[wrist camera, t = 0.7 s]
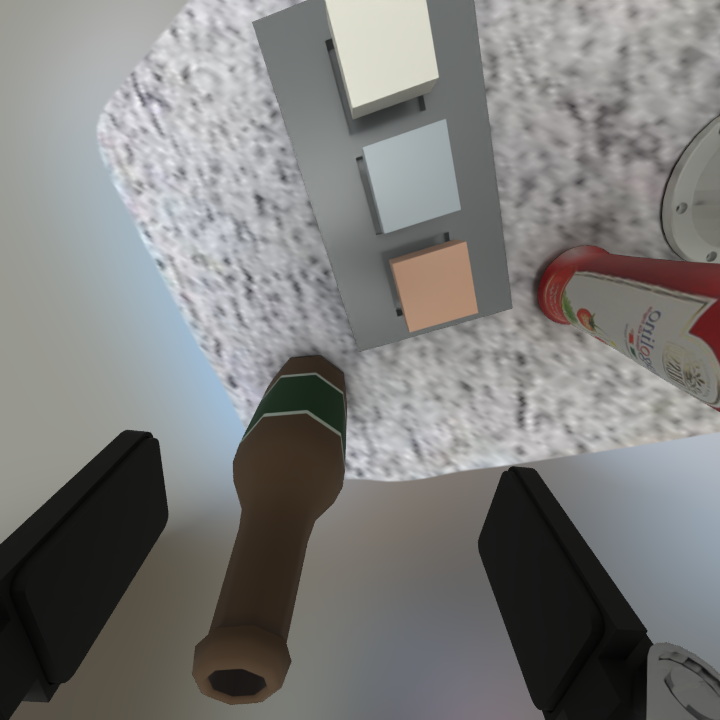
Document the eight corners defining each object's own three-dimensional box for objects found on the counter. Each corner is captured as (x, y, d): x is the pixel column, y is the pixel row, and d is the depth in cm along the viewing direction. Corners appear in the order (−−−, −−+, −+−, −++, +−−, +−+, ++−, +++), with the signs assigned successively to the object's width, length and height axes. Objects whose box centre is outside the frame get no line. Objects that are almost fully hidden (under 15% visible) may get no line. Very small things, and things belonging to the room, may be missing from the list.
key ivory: (406, 8, 21) (418, -43, 17) (423, 102, 23) (438, 77, 19) (329, 37, 22) (324, -5, 18) (352, 127, 24) (352, 108, 19)
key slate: (429, 135, 24) (446, 118, 20) (443, 210, 26) (460, 209, 22) (361, 159, 24) (362, 147, 20) (379, 230, 26) (384, 233, 22)
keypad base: (457, -40, 23) (465, -63, 21) (503, 302, 32) (512, 308, 30) (260, 36, 24) (252, 22, 22) (358, 344, 33) (359, 352, 31)
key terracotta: (448, 237, 26) (466, 241, 22) (460, 298, 28) (478, 312, 24) (386, 256, 27) (392, 264, 23) (401, 315, 29) (409, 332, 25)
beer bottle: (256, 372, 34) (77, 664, 12) (325, 338, 33) (266, 593, 11) (297, 430, 37) (214, 755, 15) (362, 400, 35) (376, 707, 13)
